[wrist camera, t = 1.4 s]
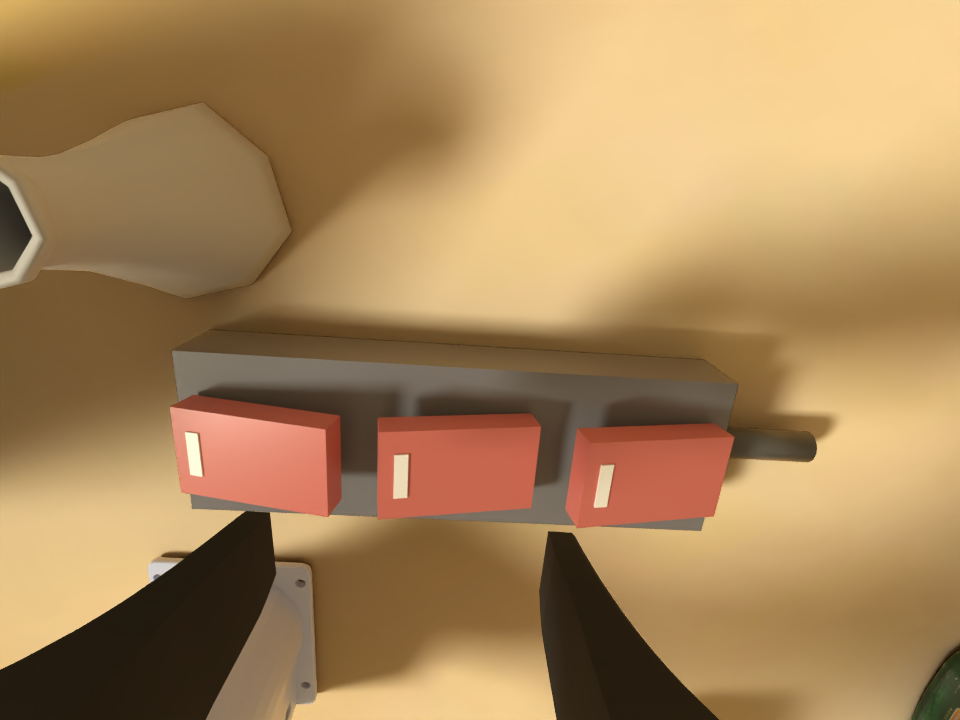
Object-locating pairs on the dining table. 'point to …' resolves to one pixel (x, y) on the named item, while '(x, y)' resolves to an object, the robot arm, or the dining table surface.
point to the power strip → (467, 403)
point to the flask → (146, 206)
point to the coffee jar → (942, 694)
